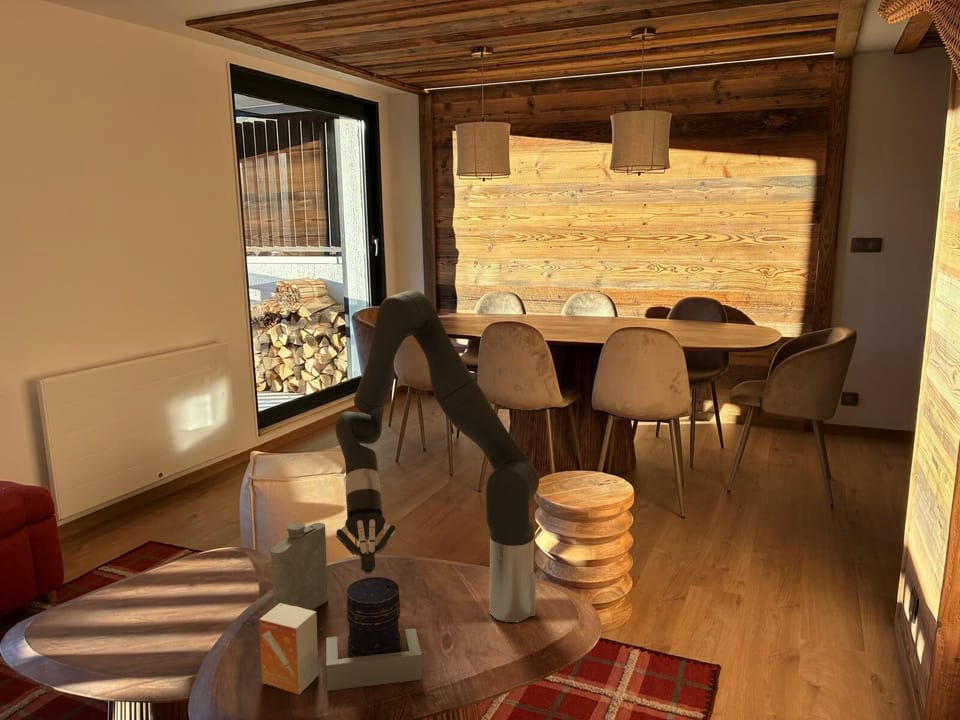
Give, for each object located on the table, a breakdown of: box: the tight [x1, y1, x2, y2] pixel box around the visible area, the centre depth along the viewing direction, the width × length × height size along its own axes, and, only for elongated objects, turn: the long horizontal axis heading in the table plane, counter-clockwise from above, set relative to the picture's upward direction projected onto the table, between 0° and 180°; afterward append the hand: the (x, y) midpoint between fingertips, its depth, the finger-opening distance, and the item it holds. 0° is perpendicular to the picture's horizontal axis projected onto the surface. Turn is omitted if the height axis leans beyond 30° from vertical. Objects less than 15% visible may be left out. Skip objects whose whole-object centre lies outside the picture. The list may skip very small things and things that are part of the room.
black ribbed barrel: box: [346, 576, 402, 658], centre depth 136 cm, size 10×10×15 cm
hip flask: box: [270, 521, 329, 611], centre depth 153 cm, size 16×4×20 cm, turn 156°
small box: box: [258, 603, 319, 695], centre depth 131 cm, size 8×6×13 cm
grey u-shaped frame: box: [325, 628, 423, 692], centre depth 136 cm, size 17×10×5 cm, turn 102°
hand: (368, 572), depth 150 cm, fingers closed
